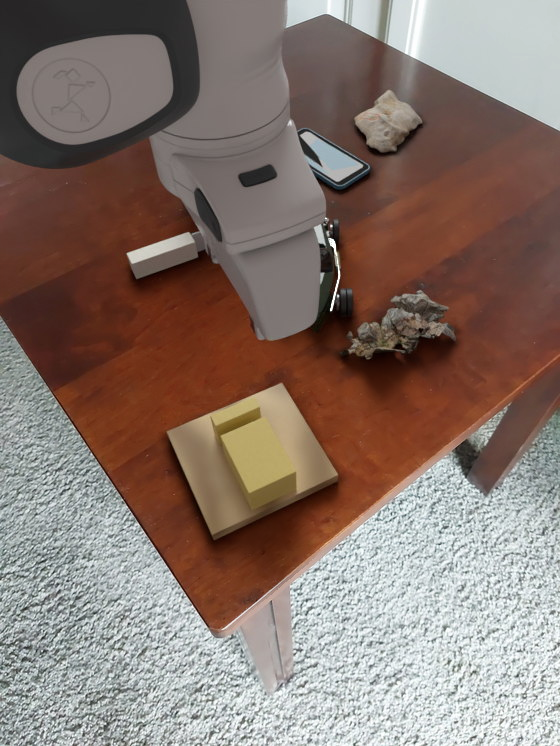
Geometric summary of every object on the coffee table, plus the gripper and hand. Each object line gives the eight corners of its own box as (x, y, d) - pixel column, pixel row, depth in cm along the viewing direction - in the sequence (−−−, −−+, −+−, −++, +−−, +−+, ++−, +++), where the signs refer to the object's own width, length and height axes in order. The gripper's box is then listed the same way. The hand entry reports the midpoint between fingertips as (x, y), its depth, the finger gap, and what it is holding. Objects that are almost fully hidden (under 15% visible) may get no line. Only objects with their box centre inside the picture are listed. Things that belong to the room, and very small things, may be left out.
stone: (385, 100, 104) (387, 84, 102) (436, 123, 99) (439, 107, 97) (335, 133, 99) (336, 117, 96) (386, 159, 94) (388, 143, 92)
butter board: (213, 540, 59) (211, 535, 57) (168, 438, 66) (166, 431, 64) (337, 481, 62) (338, 474, 61) (282, 389, 69) (282, 382, 68)
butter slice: (219, 445, 63) (215, 426, 60) (214, 434, 64) (209, 415, 61) (262, 427, 64) (260, 407, 61) (256, 416, 65) (254, 396, 62)
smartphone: (339, 188, 89) (272, 144, 95) (339, 193, 90) (272, 150, 96) (373, 166, 92) (305, 126, 98) (372, 172, 92) (305, 131, 99)
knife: (136, 279, 80) (130, 261, 78) (131, 268, 82) (125, 250, 79) (269, 232, 85) (268, 214, 82) (262, 222, 86) (261, 204, 84)
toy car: (342, 229, 85) (344, 201, 81) (354, 338, 73) (357, 311, 69) (277, 231, 85) (276, 203, 81) (278, 340, 73) (277, 314, 69)
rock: (323, 332, 74) (323, 311, 71) (426, 292, 77) (431, 270, 74) (357, 381, 69) (359, 361, 66) (465, 336, 72) (472, 315, 69)
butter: (251, 510, 59) (248, 493, 55) (224, 454, 62) (219, 435, 59) (297, 489, 60) (296, 471, 57) (267, 435, 64) (265, 415, 60)
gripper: (126, 79, 43) (163, 229, 54) (238, 254, 32) (255, 397, 43) (207, 57, 44) (227, 208, 55) (342, 217, 33) (333, 365, 44)
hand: (240, 292), depth 49 cm, fingers open, 8 cm apart
